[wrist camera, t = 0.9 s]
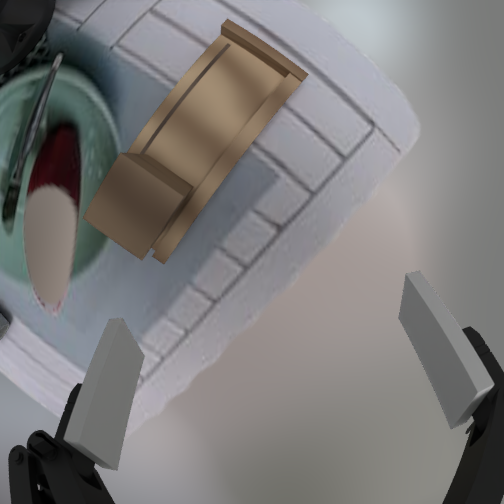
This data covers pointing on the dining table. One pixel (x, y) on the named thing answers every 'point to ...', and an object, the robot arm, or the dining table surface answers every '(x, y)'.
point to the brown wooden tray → (215, 119)
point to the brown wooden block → (136, 202)
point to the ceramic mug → (3, 326)
